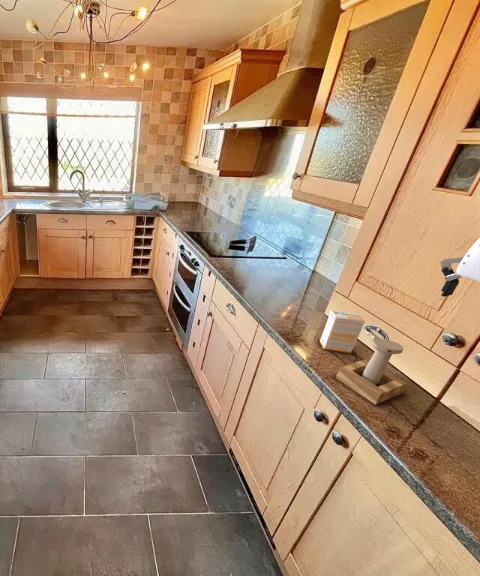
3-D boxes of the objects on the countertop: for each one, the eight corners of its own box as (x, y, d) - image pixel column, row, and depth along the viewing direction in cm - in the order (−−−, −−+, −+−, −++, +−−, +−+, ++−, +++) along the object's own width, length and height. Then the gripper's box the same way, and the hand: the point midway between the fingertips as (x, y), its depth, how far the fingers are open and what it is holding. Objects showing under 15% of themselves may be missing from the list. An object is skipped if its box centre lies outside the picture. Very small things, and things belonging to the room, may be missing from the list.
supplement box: (345, 345, 107) (359, 313, 101) (351, 353, 103) (366, 321, 97) (318, 341, 110) (330, 309, 104) (323, 349, 106) (335, 317, 100)
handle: (383, 394, 87) (406, 352, 80) (355, 387, 90) (375, 346, 83) (378, 383, 91) (399, 342, 84) (351, 377, 94) (370, 336, 87)
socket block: (359, 369, 97) (364, 359, 95) (401, 393, 87) (407, 383, 85) (335, 378, 93) (339, 367, 91) (375, 404, 84) (381, 393, 82)
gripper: (595, 243, 58) (538, 319, 66) (470, 222, 73) (435, 286, 81) (576, 248, 56) (520, 326, 64) (451, 225, 71) (417, 291, 78)
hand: (473, 304), depth 72 cm, fingers open, 9 cm apart
